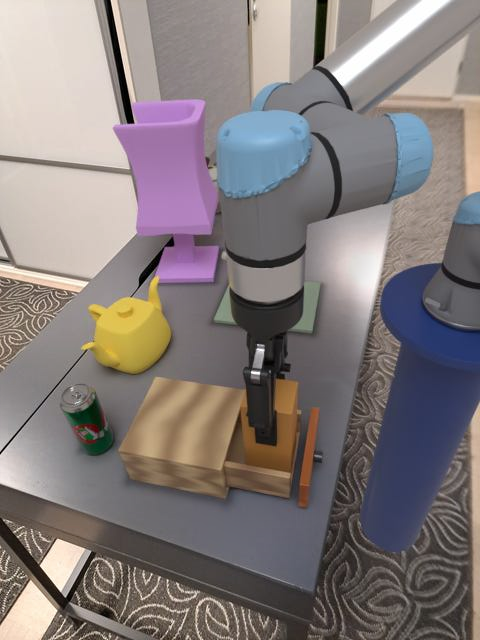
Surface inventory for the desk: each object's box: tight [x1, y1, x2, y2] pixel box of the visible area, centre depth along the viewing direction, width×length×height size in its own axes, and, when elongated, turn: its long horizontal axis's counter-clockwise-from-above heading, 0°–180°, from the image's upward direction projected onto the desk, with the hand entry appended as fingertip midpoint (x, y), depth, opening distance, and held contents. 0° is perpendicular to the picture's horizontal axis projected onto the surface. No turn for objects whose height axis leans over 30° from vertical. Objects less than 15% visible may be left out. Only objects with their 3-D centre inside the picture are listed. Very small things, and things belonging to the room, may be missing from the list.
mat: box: [213, 280, 322, 334], centre depth 94 cm, size 20×16×1 cm
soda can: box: [59, 382, 115, 456], centre depth 66 cm, size 5×5×12 cm
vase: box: [112, 98, 220, 284], centre depth 95 cm, size 16×16×35 cm
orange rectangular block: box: [240, 379, 299, 473], centre depth 60 cm, size 6×5×14 cm
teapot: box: [80, 276, 172, 375], centre depth 83 cm, size 22×16×11 cm
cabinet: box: [117, 376, 245, 500], centre depth 66 cm, size 15×14×8 cm
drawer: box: [223, 406, 324, 509], centre depth 63 cm, size 15×12×6 cm
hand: (270, 423), depth 59 cm, fingers closed on orange rectangular block, 5 cm apart
